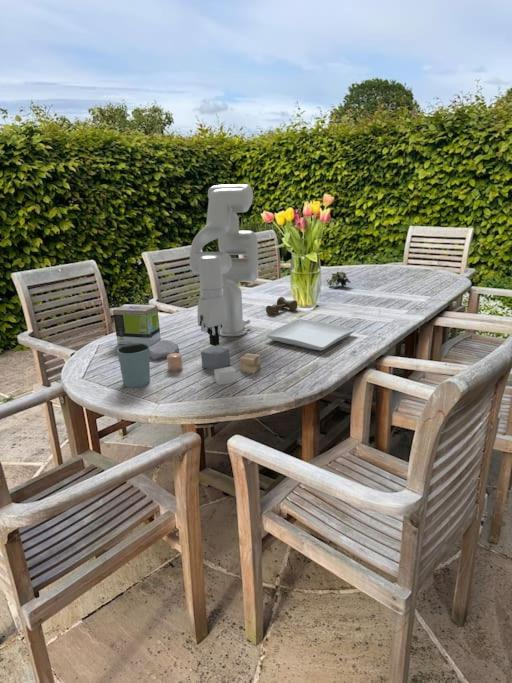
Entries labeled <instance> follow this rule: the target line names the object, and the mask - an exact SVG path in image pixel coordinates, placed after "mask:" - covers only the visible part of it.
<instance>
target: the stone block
mask: <svg viewBox="0 0 512 683" xmlns="http://www.w3.org/2000/svg"><path fill="white" fill-rule="evenodd" d="M149 347H150V354H149V357H150V359H152V360H154V361H156V360H157V361H158V360H160V359H164V358H167V355H169V354H172V353H180V348H179V346H178V344H177V343H175V342H173V341H171V340H169V339H160V340H158V341H157V342H155V343H154V344H152V345H151V346H149Z"/></svg>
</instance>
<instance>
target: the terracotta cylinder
mask: <svg viewBox="0 0 512 683" xmlns="http://www.w3.org/2000/svg"><path fill="white" fill-rule="evenodd" d="M182 356H183V355H182V353H180V352H178V353H172V354H169V355H167V357H166V361H167V370H168V371H169V372H172V373H173V372H175V373H176V372H180V371H182V370H183V369H184V368H183V357H182Z"/></svg>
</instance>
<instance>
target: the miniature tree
mask: <svg viewBox="0 0 512 683" xmlns="http://www.w3.org/2000/svg"><path fill="white" fill-rule="evenodd" d="M326 282H327V286H329V287H331V286H334V284H335V288H337V287H338V286H339V285H341V286H342V287H344V286H347V283H348V284H351V281H350V280H349V278H348V276H347V275H346V272H344V271H336V273H333V272H331V279H329V278H328V279H326Z"/></svg>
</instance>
